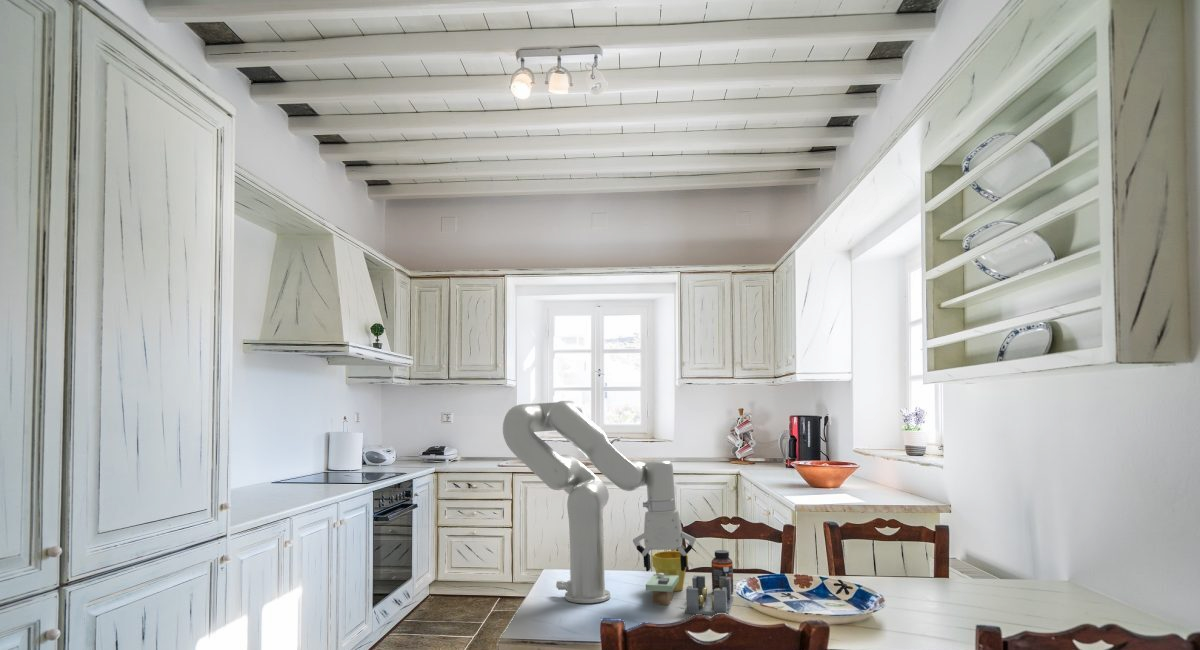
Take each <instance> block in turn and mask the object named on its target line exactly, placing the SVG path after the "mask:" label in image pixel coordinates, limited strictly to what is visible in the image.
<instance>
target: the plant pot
mask: <svg viewBox="0 0 1200 650" xmlns="http://www.w3.org/2000/svg"><path fill="white" fill-rule="evenodd" d="M680 556H681V553H680V552H679V551H677V550H661V551H658V552H654V553H652V555H651V559H652V567H653V569H654V570H655V574H658V573H664V575H679V581H678V583H677V585H676V586H675V588H674V589H673V592H679V591H682V590H683V589H684V581H685V577H686V569H687V568H688V567H689V554H688V553H687V567H685V570H684V571H681V560H680Z"/></svg>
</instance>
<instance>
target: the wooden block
mask: <svg viewBox="0 0 1200 650" xmlns="http://www.w3.org/2000/svg"><path fill="white" fill-rule="evenodd" d="M673 592H674V591H672V592H665V591H652V605H660V606H661V605H662V606H668V605H669V604H670V603H671V601H672V599H673V598H674V595H673V594H674V593H673Z"/></svg>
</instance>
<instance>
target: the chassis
mask: <svg viewBox="0 0 1200 650" xmlns="http://www.w3.org/2000/svg"><path fill="white" fill-rule="evenodd" d="M691 580H692V581H691V582H692V585H687V586H686V588H685V593H686V597H685V598H686V607H685V609H684V615H685V614H687V615H703V614H704V616H705V615H706V616H707V615H708V616H715V615H714V614H717V613H726V614H728V615H729V614H730V611H731V608H732V606H733V601H734V596H733V595H732V593H731V577H719V588H715V589H714V592H713V594H708V588H707V587H706V576H705V575H693V577H692V579H691ZM691 613H693V614H691Z"/></svg>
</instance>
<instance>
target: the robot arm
mask: <svg viewBox="0 0 1200 650" xmlns="http://www.w3.org/2000/svg"><path fill="white" fill-rule="evenodd" d="M555 431H556V432H558V433H559V434H560V435H561V436H562V438H564V439H566V440H567V441H568V442H570V444H572V445H573V446H574V447H575V448H576V449H578V450H579V451H580V452H581V453H582V454H584V455H583V456H585V457H586V459H587V460H588V461H589V462H590V463H591V464H592V465H593V466H594V467H595V468H596V469H597V470H598V471H599V472H600V473H601V474H602V475H603V476H604V477H605V478H607V480H609V481H610V482H611V483H612V484H614V485H615V486H616V487H618V488H619V489H621V490H623V491H624V492H625V491H626V492H632V491H635V490H638V489H639V488H640V487H641V488H642V487H644V486H646V493H647V496H646V497H647V500H646V501H643V502H642V507H643V508H646V510H647V511H645V513H644V514H645V515H644V523H643V525H644V527H643V529H644V530H643V531H644V532H643V533H642V534H639V535H638V536H636V537H634V538H633V539H632V543H633V545H634V546H635V548H636V550H637V551H638V552H639V553H640V554H641V556H642V557H643V567H644V568H645V570H646V572H650V570H651V569H652V567H651V554H650V553H649V552H650V551H653V550H654V551H657V550H658V551H676V550H678V551H679V552H680V553H681V556H680V560H681V571H684V570H685V567H686V568H688V567H687V554H688V553H690V552H691V550H692V549H693V547H694V545H695V542H696V537H694V536H692V535H690V534H688V533H686V532H684V531H683V528H682V522H681V517H680V513H679V510H677V509H676V495H675V494H676V493H675V480H674V466H673V463H672V462H671V461H669V460H665V459H663V460H652V461H651V460H650V461H645V460H644V461H643V460H629V459H627V458H626V457H625V456H624V455H623V454H622V453H620V452H619V451H618V450H617V449H616V448H615V447H614V446H613V445H612V444H611V442H610V441H609V439H608V436H607V433H606V432H605V431H604V430H603V429H602V428H601V427H599V426H598V425H597V424H596V423H594V422H593V421H592V420H591V419H589V417H587V416H586V415H585V414H584V412H583V409H582V408H581V407H580V405H579V404H578V403H577V402H574V401H573V400H560V401H556V402H555V401H554V402H542V403H541V402H540V403H538V402H537V403H523V404H517V405H514V406H513V407H511V408H510V409H508V411H507V412H506V414H505V416H504V419H503V423H502V434H503V439H504V442H505V444H506V446H507V448H508V449H509V450H510V451H511V453H513V455H514V456H515V457H517V459H519V460H520V461H521V462H522V463H523V464H524V465H525V466H526V467H527V468H528V469H529V470H530V471H531V472H532V473H533V474H535V476H537V477H538V478H539V479H540V480H541V481H542V482H543V483H544V484H545V485H546V486H547V487H548V488H550V489H552V490H553V491H564V492H566V494H568V496H567V501H566V504H567V505H566V507H567V516H568V517H567V518H568V527H569V531H568V532H569V565H570V566H569V572H570V573H569V575H570V577H569V580H567V581H563V580H562V581H559V580H558V581H556V585H555V588H556V589H557V590H560V591H561V590H562V591H563V590H565V591H566V592H565V594H564V599H565V600H566V601H569V602H571V603H574V604H575V603H576V604H577V603H578V604H594V603H595V604H597V603H602V602H605V601H607V600H609V599H610V598H611V592H610V591H609V590H608V589H605V585H606V583H605V542H604V541H605V540H604V537H605V536H604V520H603V511H602V510H603V509H604V508H605V507H606V505H607V504H608V501H609V495H610V494H609V490H608V487H607V486H606V485H605V483H604V482H603V481H602V480H601V479H600V478H599V477H598V476H597V475H596V474H595V473H594V472H592V471H591V470H590V469H589V468H588V467H587V466H585V465H584V464H583V462H581V461H580V460H579V459H578V458H576V457H574V456H572V455H570V454H560V453H558V452H557V451H556V450H554V449H553V448H552V447H551V446H550V445H549V444H548V443H547V442H545V441H544V440H543V439H542V438H540V437H539V436H538V435H537V434H536V433H538V432H540V433H541V432H555ZM643 539H644V540H643ZM642 540H643V542H644V546H642V544H641V543H640V542H641V541H642ZM684 540H686V541H688V545H687V546H686V547H685V546H684V545H683V544H684ZM644 547H645V548H644Z"/></svg>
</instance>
